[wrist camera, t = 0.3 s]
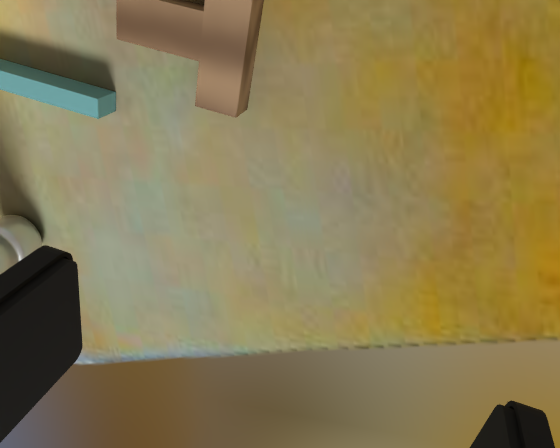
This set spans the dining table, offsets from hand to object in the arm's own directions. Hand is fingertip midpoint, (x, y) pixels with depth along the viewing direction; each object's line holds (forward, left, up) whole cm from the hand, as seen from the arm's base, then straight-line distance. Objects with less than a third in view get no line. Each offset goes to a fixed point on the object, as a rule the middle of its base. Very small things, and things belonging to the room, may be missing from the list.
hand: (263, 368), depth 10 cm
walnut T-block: (0, -18, -34) cm, 39 cm away
